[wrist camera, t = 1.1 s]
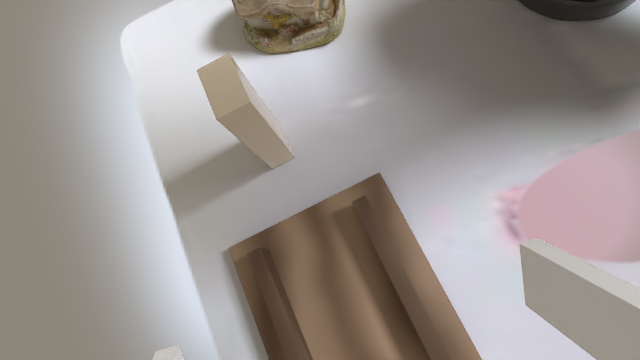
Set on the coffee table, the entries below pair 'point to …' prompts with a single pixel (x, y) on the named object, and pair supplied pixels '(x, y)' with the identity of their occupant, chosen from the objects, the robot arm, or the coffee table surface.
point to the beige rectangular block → (244, 111)
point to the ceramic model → (290, 23)
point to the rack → (348, 285)
